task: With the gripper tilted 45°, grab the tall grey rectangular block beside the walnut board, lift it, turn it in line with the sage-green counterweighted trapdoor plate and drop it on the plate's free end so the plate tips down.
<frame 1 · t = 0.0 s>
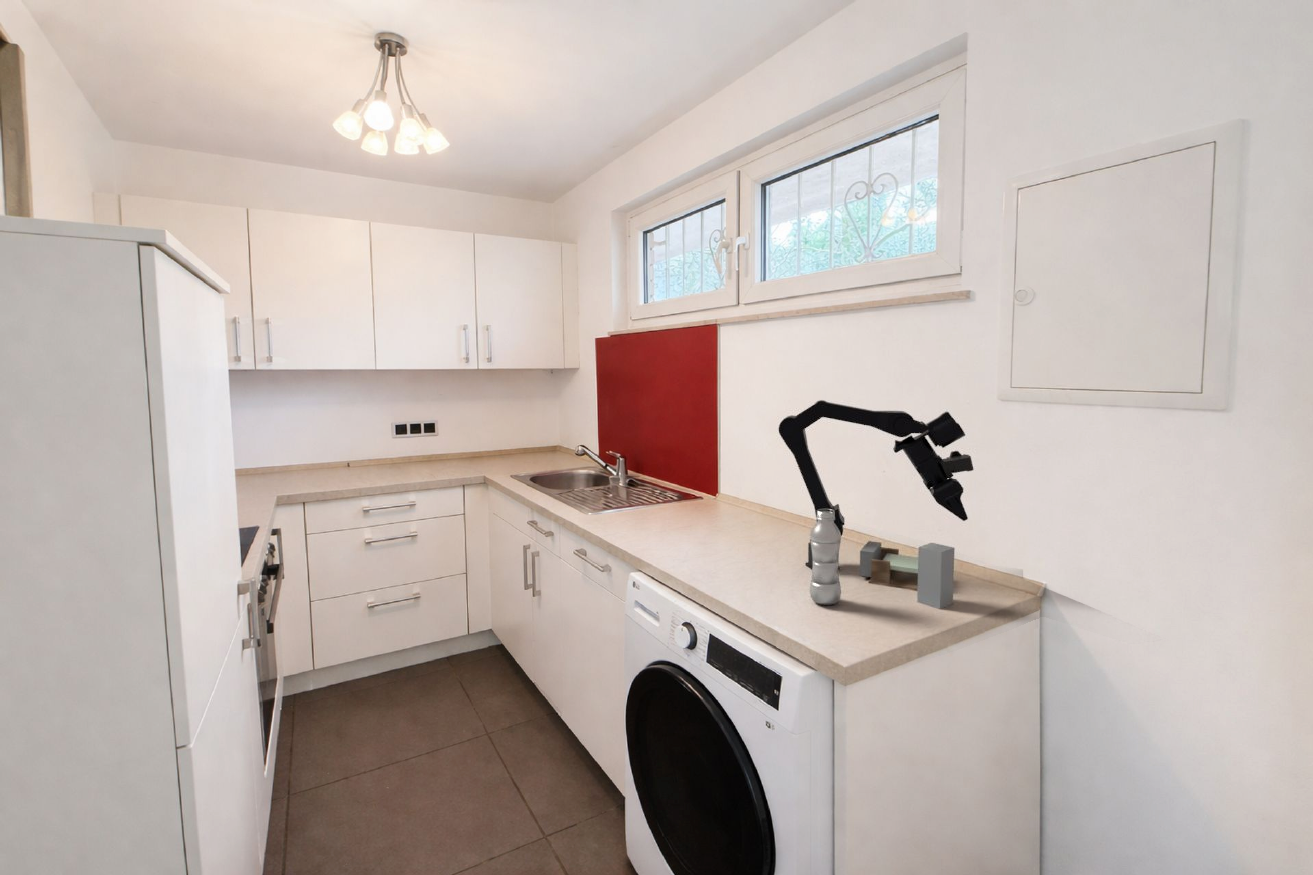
hand: (962, 515, 142), 15 cm above the counter, tool tilted 35°, fingers open, 9 cm apart
plastic bottle: (825, 603, 130), on the counter
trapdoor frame: (885, 576, 145), on the counter
trapdoor: (899, 562, 143), point 4 cm above the counter, hinge at 0.0°
grey rectangular block: (934, 602, 129), on the counter
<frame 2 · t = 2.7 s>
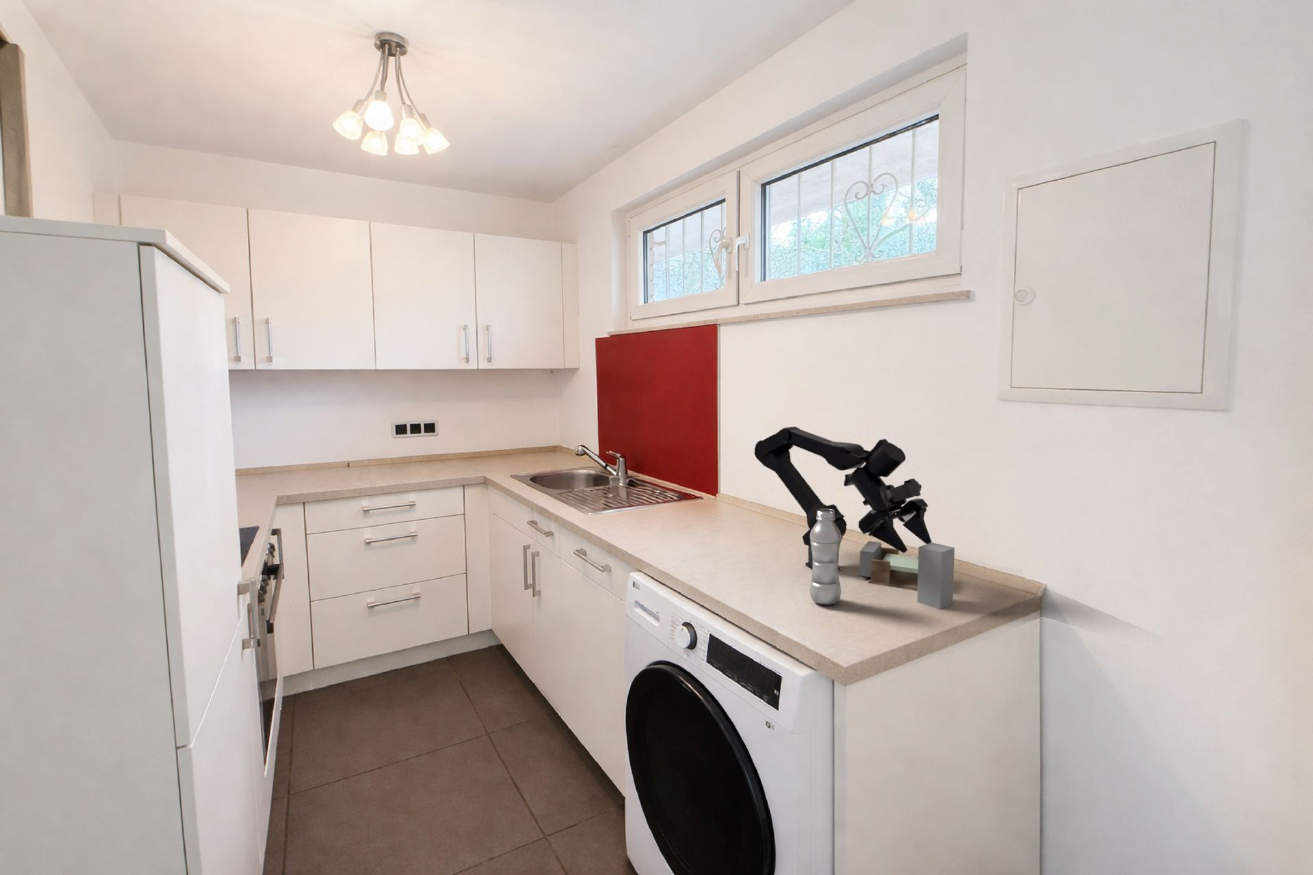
hand: (918, 547, 131), 11 cm above the counter, tool tilted 45°, fingers open, 9 cm apart
nothing on the counter moved.
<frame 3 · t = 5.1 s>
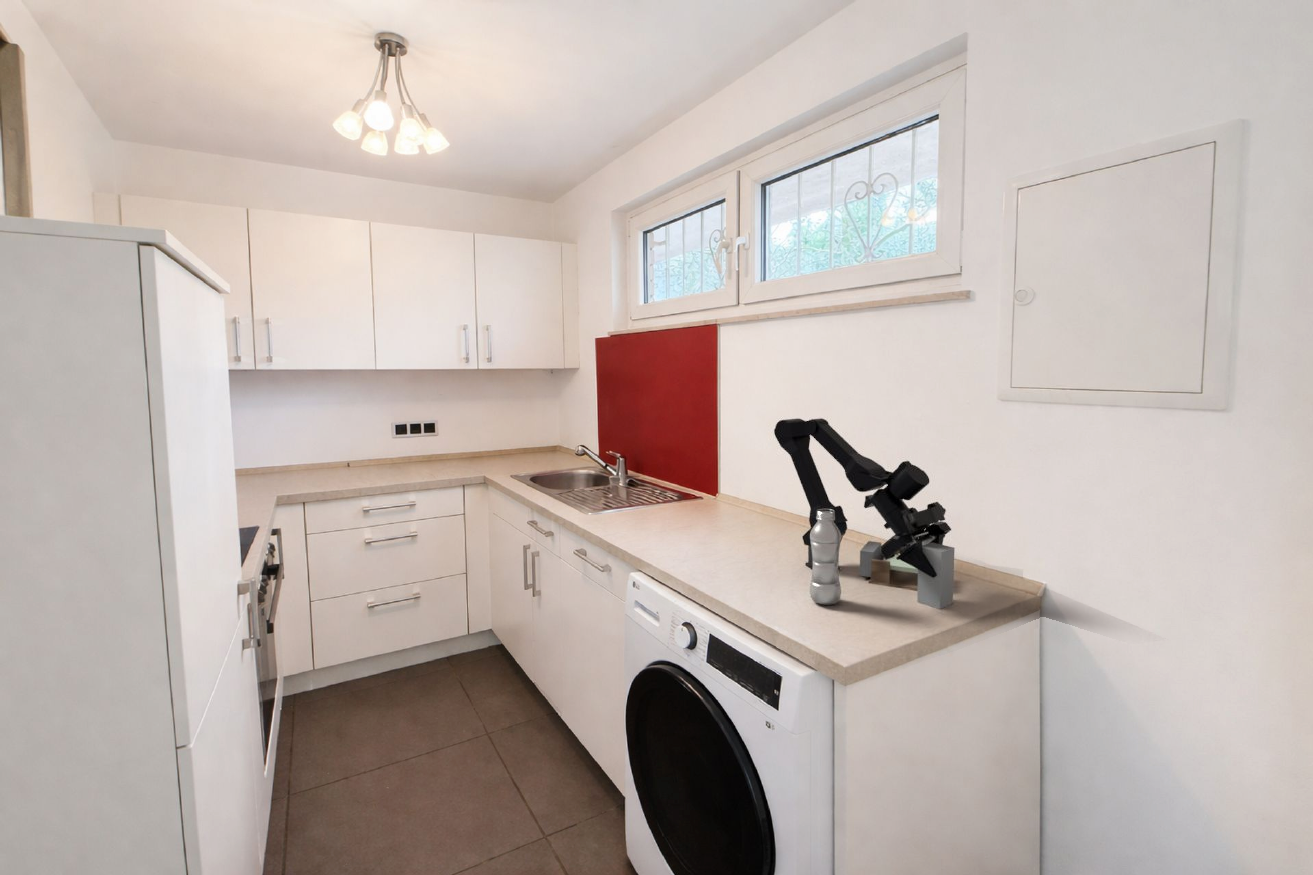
hand: (942, 573, 127), 7 cm above the counter, tool tilted 45°, fingers closed on grey rectangular block, 5 cm apart
grey rectangular block: (934, 602, 129), on the counter, touching gripper
everything else where it was.
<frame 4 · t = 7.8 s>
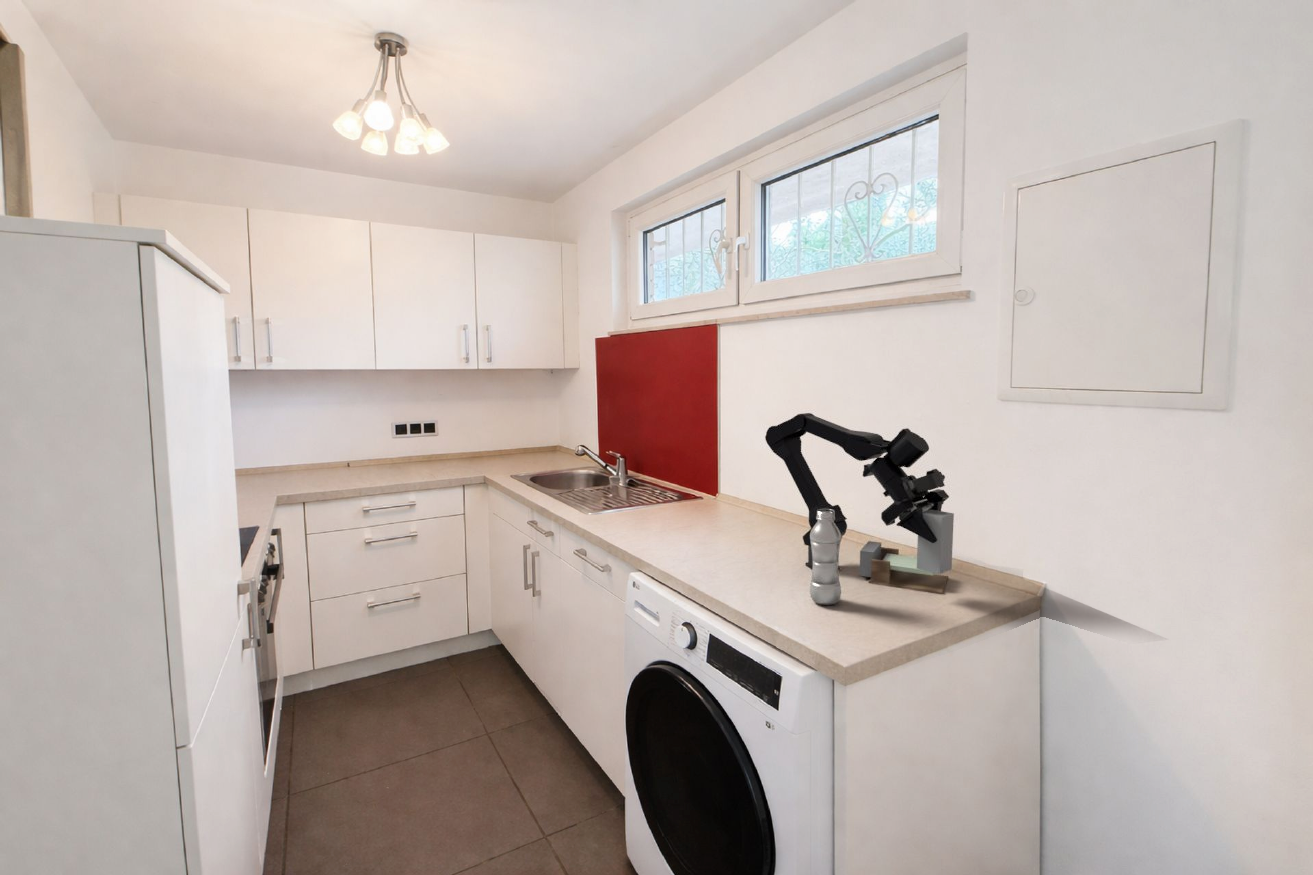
hand: (941, 539, 128), 13 cm above the counter, tool tilted 45°, fingers closed on grey rectangular block, 5 cm apart
grey rectangular block: (934, 568, 130), point 7 cm above the counter, touching gripper
everything else where it was.
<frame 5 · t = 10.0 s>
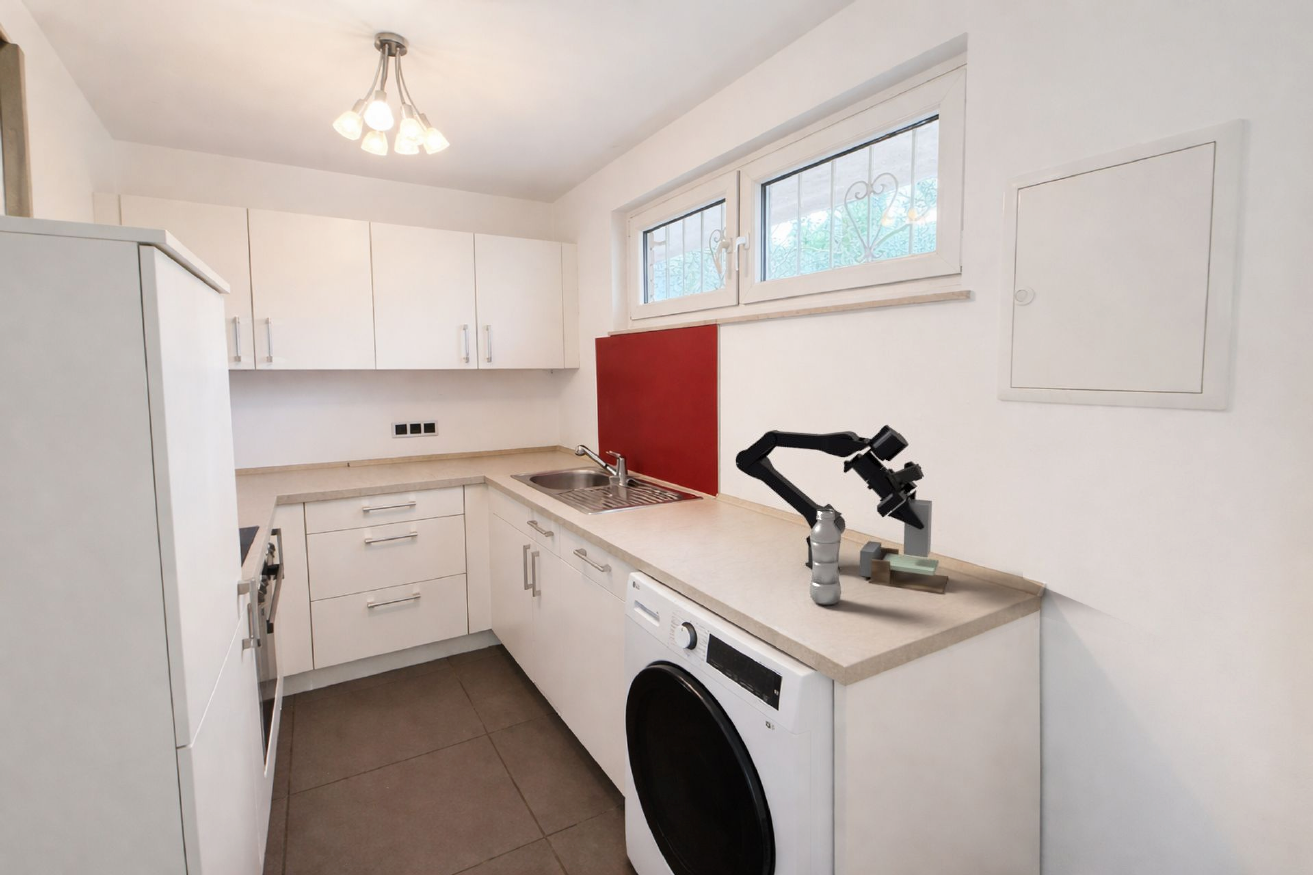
hand: (924, 525, 139), 13 cm above the counter, tool tilted 45°, fingers closed on grey rectangular block, 5 cm apart
grey rectangular block: (917, 552, 141), point 7 cm above the counter, touching gripper
everything else where it was.
when the fingers open (13 cm above the counter, at t = 10.9 s): grey rectangular block drops 4 cm, resting on trapdoor.
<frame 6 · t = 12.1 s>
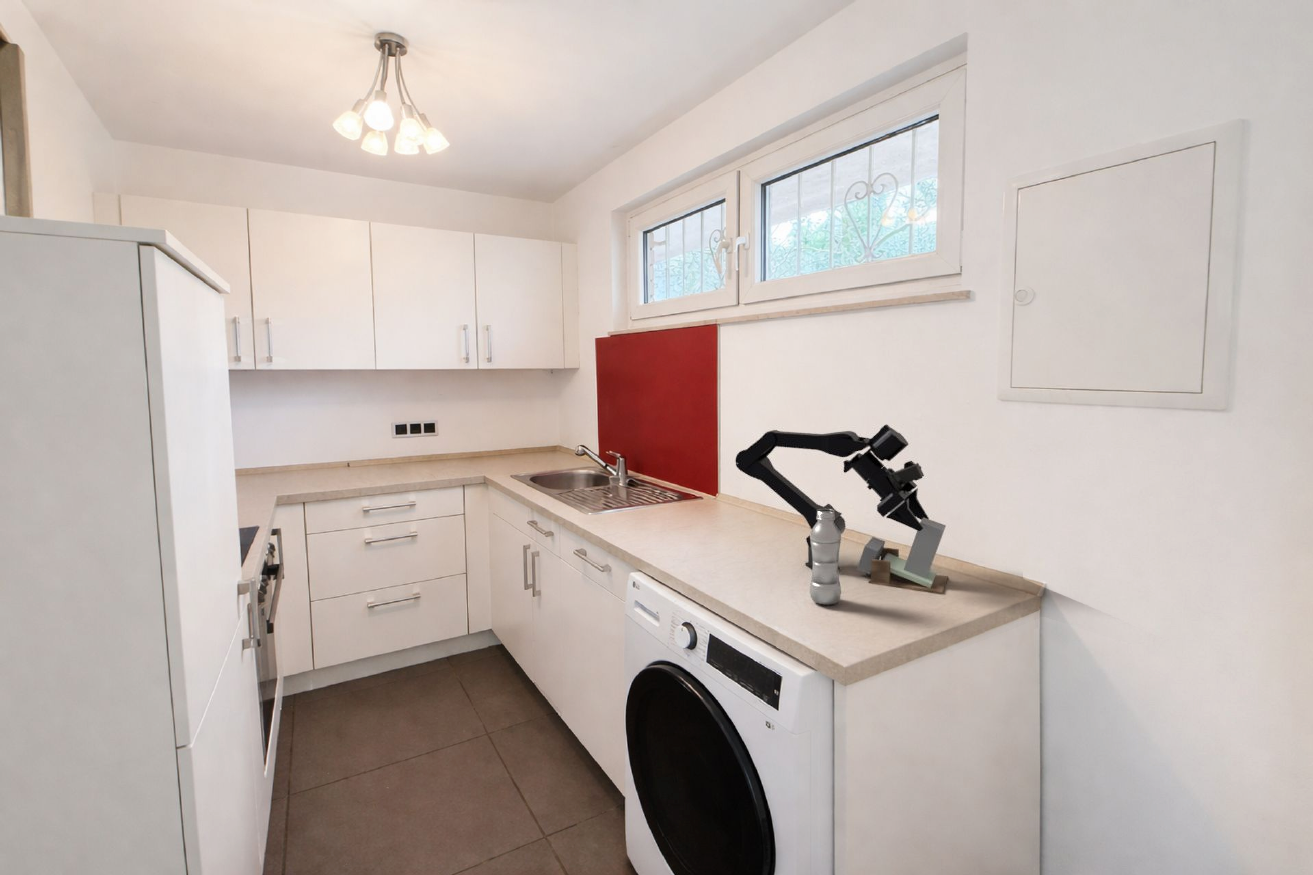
hand: (924, 525, 139), 14 cm above the counter, tool tilted 45°, fingers open, 9 cm apart
trapdoor: (898, 565, 143), point 3 cm above the counter, hinge at -15.9°, touching grey rectangular block, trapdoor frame
grey rectangular block: (916, 571, 141), point 3 cm above the counter, tilted 16°, touching trapdoor
everything else where it was.
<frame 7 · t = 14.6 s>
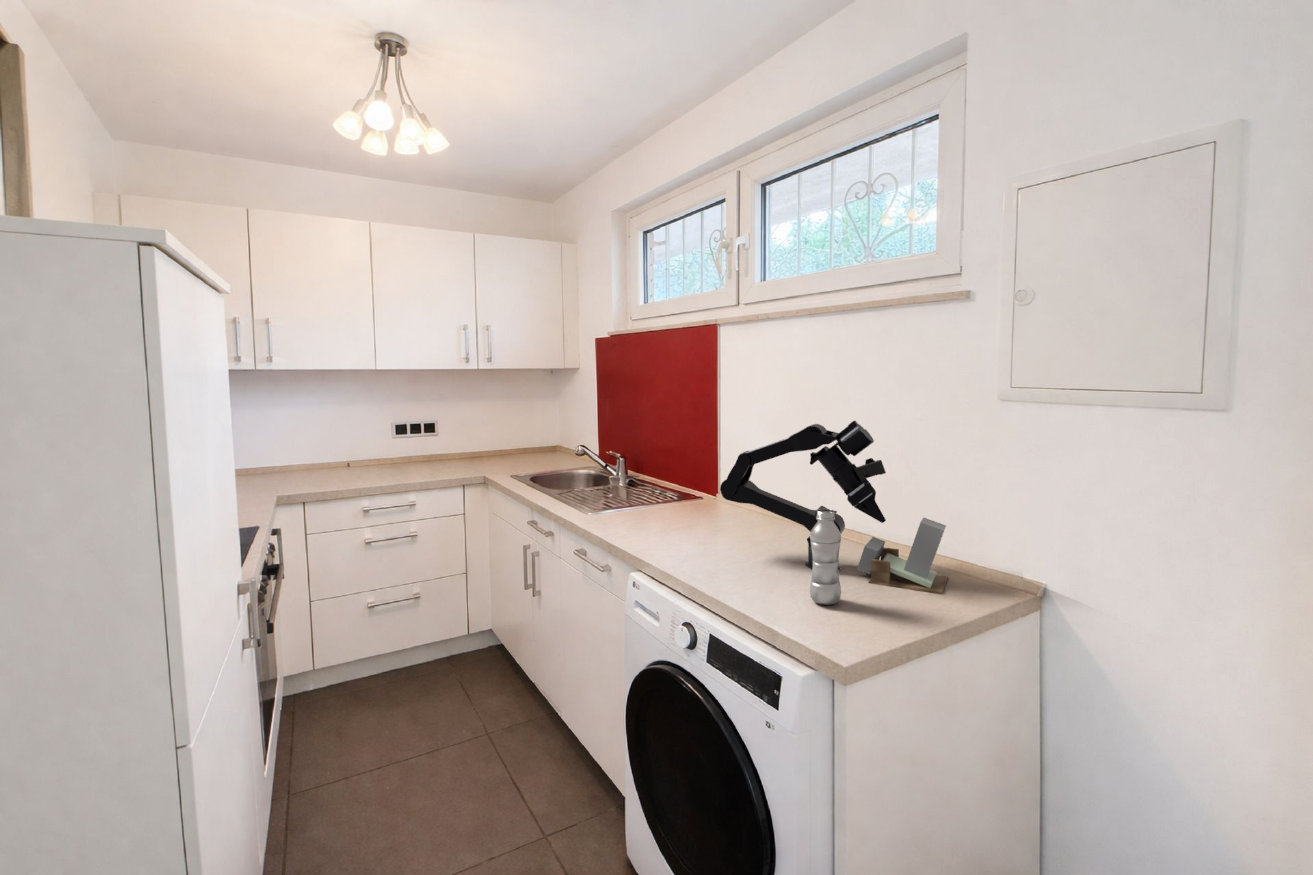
hand: (882, 519, 146), 14 cm above the counter, tool tilted 40°, fingers open, 9 cm apart
trapdoor: (898, 565, 143), point 3 cm above the counter, hinge at -15.9°, touching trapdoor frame
grey rectangular block: (916, 571, 141), point 3 cm above the counter, tilted 16°
everything else where it was.
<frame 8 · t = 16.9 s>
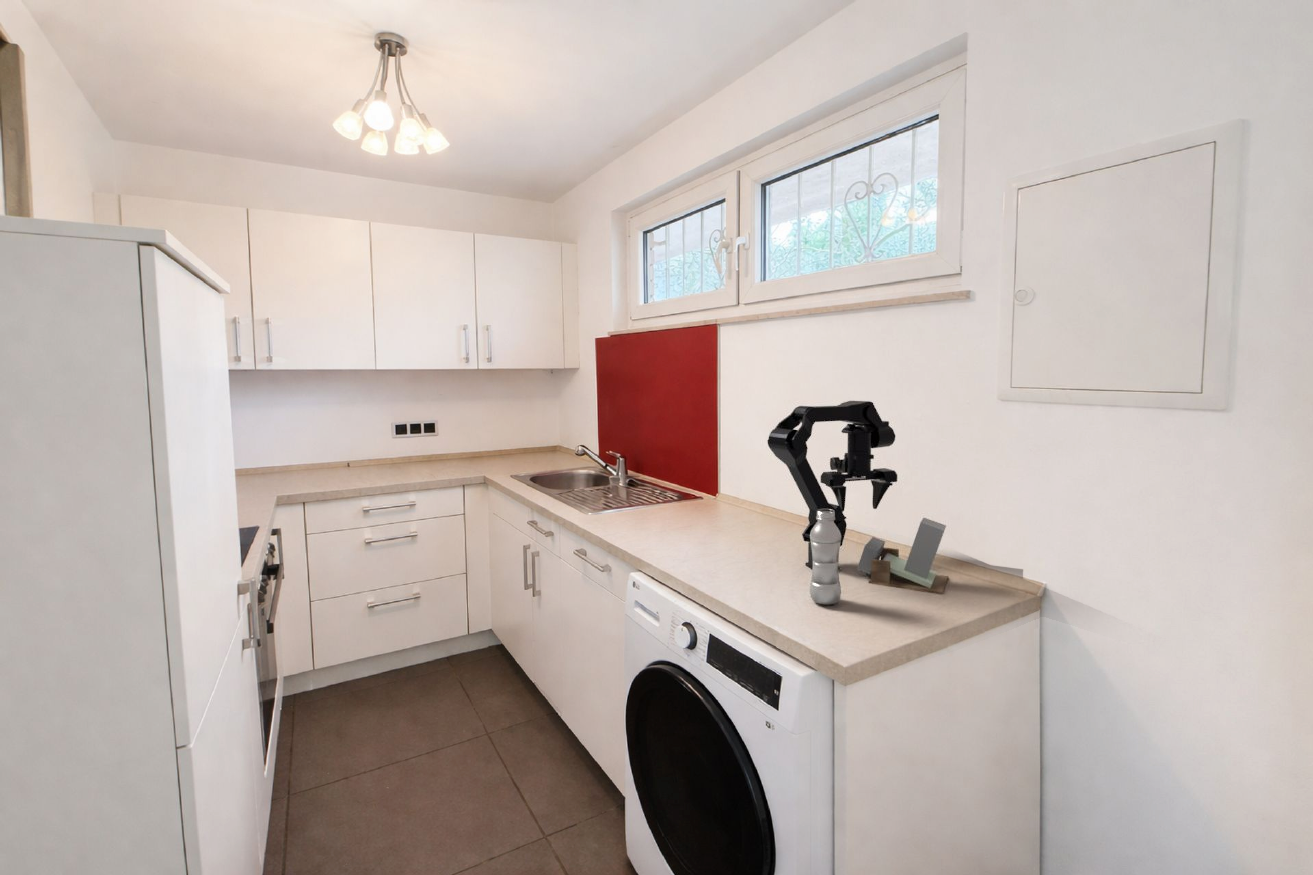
hand: (858, 509, 158), 13 cm above the counter, tool pointing down, fingers open, 9 cm apart
trapdoor: (898, 565, 143), point 3 cm above the counter, hinge at -15.9°, touching grey rectangular block, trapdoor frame
grey rectangular block: (916, 571, 141), point 3 cm above the counter, tilted 16°, touching trapdoor
everything else where it was.
at the end: trapdoor at -16° (first picture: +0°); the gripper is holding nothing; grey rectangular block inside the target area (0.1 cm from its centre), point 2.5 cm above the counter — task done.
